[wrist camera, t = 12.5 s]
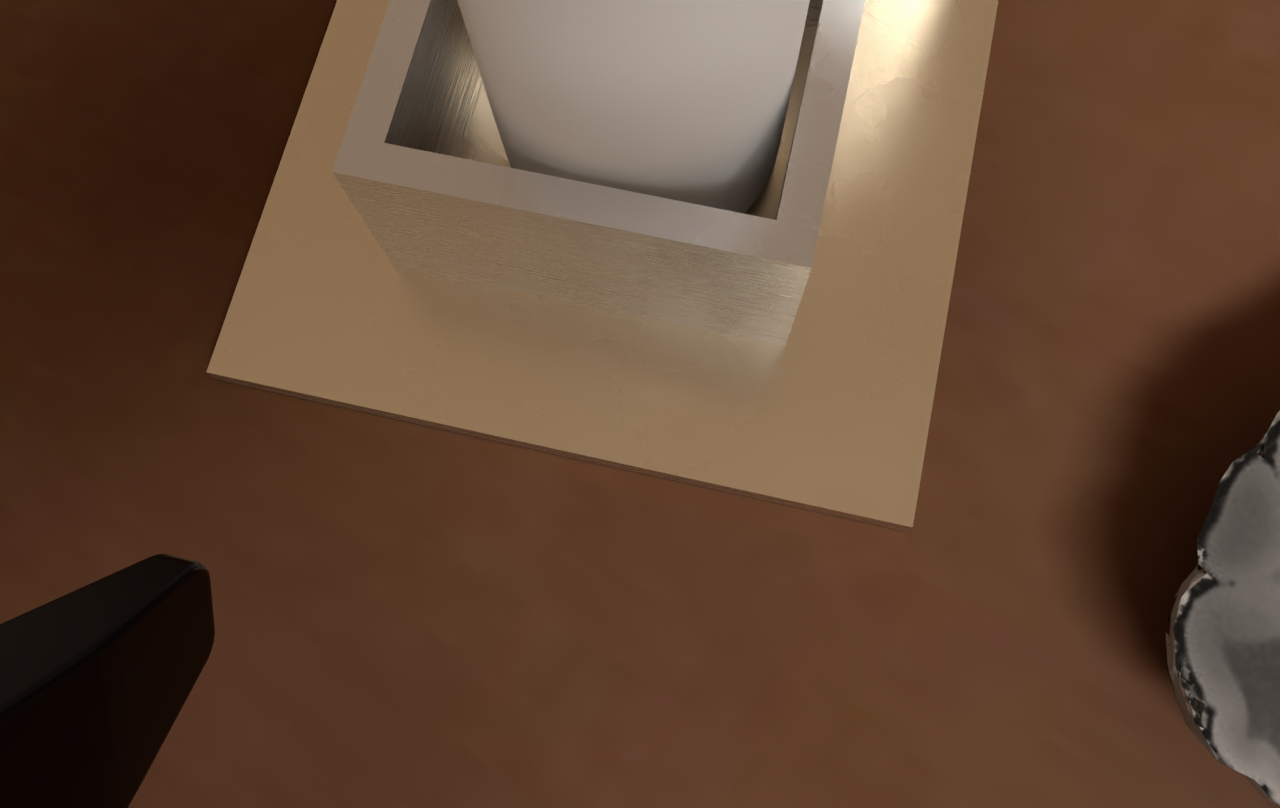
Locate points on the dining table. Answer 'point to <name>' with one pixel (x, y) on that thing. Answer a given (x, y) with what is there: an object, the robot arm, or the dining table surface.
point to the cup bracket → (627, 265)
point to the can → (642, 90)
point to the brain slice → (1235, 622)
